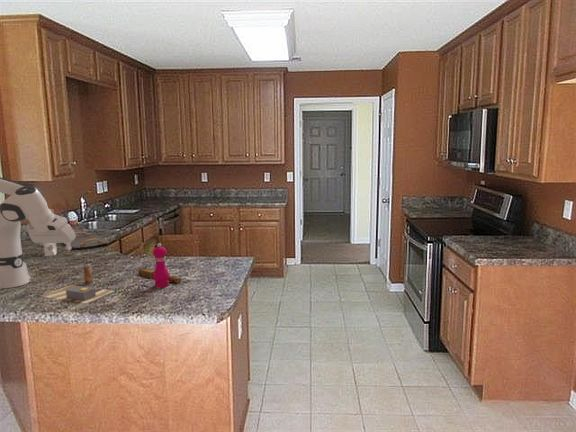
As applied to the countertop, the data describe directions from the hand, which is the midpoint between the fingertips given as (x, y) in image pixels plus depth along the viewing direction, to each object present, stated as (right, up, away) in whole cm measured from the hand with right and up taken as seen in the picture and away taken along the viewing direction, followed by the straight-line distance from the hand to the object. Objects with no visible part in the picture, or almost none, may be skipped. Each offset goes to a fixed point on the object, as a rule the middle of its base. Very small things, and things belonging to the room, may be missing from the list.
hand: (60, 249), depth 186 cm
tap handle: (+33, -17, +30) cm, 47 cm away
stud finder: (+8, -20, +1) cm, 22 cm away
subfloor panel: (+5, -21, +6) cm, 22 cm away
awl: (+3, -18, +21) cm, 28 cm away
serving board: (-39, -5, +109) cm, 116 cm away
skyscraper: (-47, -10, +81) cm, 94 cm away
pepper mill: (+38, -18, +19) cm, 46 cm away
